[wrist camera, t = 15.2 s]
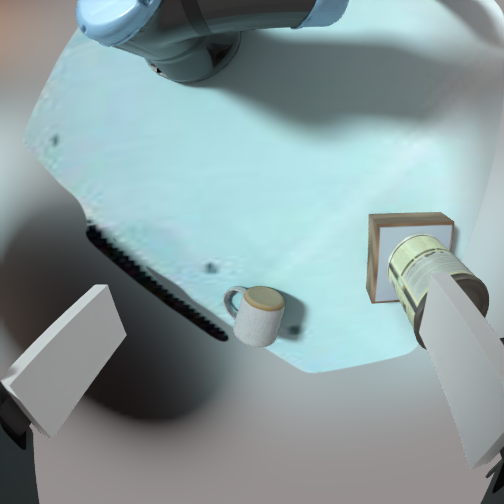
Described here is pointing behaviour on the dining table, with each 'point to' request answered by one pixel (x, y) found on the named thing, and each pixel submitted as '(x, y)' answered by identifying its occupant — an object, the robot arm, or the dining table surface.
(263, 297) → the ceramic mug
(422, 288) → the coffee can
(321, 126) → the dining table surface
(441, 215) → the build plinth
